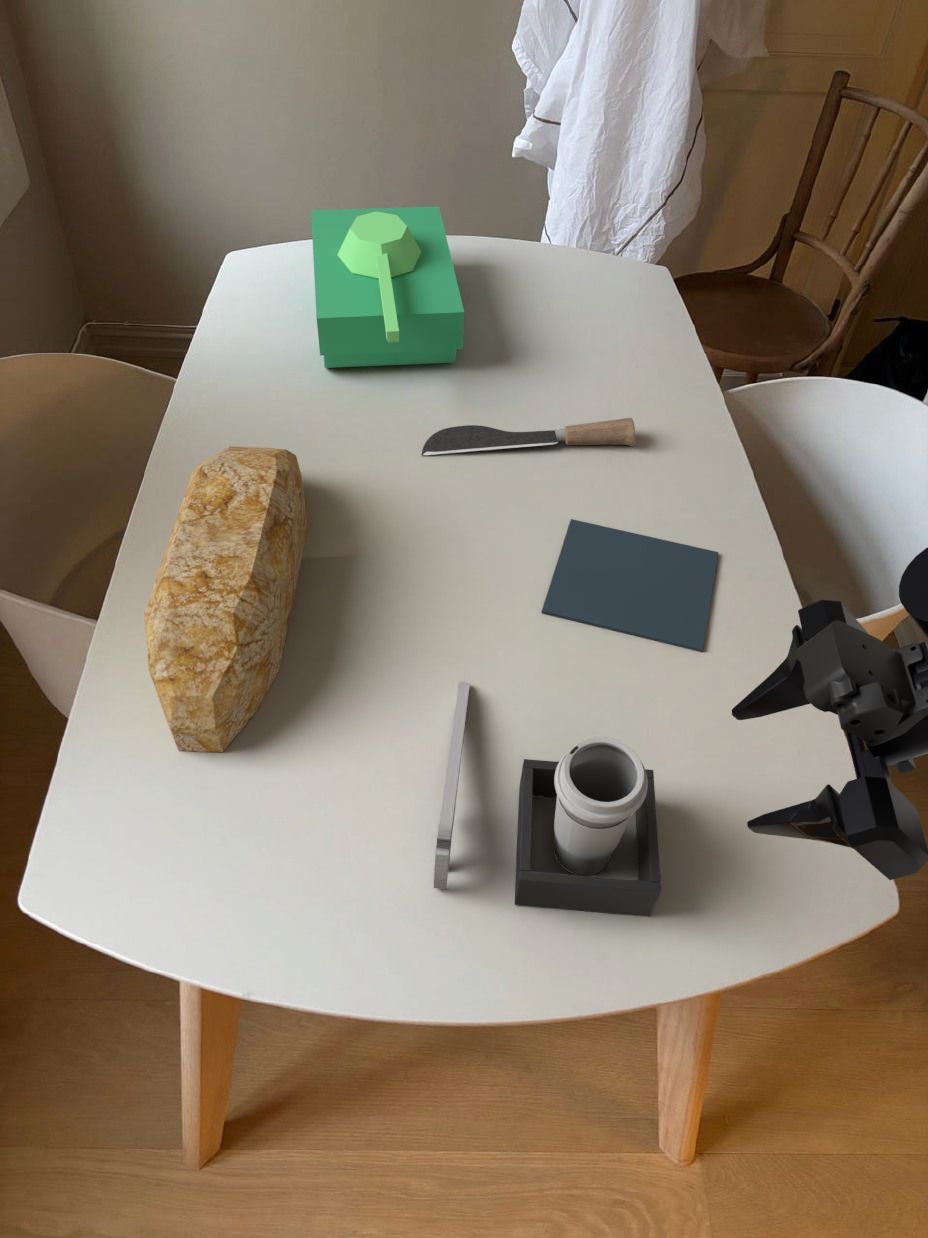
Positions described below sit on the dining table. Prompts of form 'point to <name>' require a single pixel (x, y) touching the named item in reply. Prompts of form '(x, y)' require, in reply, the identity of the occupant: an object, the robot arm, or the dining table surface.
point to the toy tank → (385, 287)
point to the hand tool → (528, 437)
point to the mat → (633, 584)
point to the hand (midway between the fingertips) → (741, 769)
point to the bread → (226, 593)
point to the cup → (595, 801)
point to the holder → (585, 889)
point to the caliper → (450, 790)
